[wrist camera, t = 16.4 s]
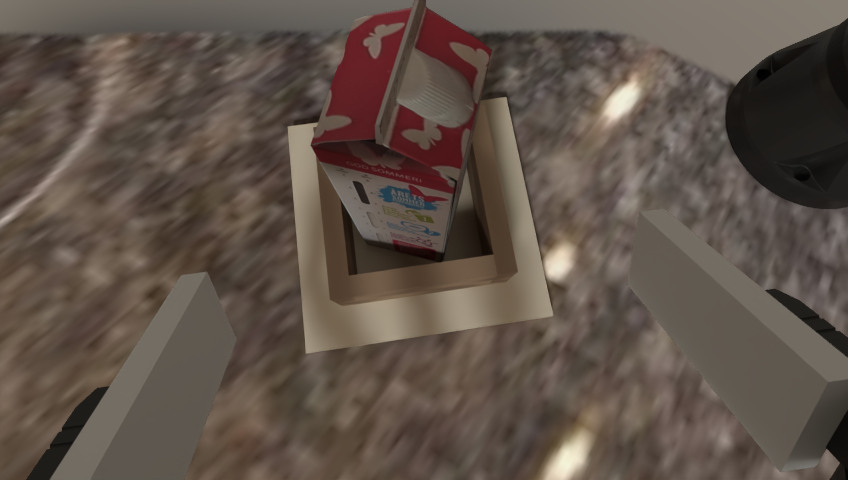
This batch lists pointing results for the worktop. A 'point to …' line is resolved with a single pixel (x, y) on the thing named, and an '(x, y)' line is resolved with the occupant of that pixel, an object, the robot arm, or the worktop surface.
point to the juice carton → (402, 126)
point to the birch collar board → (412, 276)
